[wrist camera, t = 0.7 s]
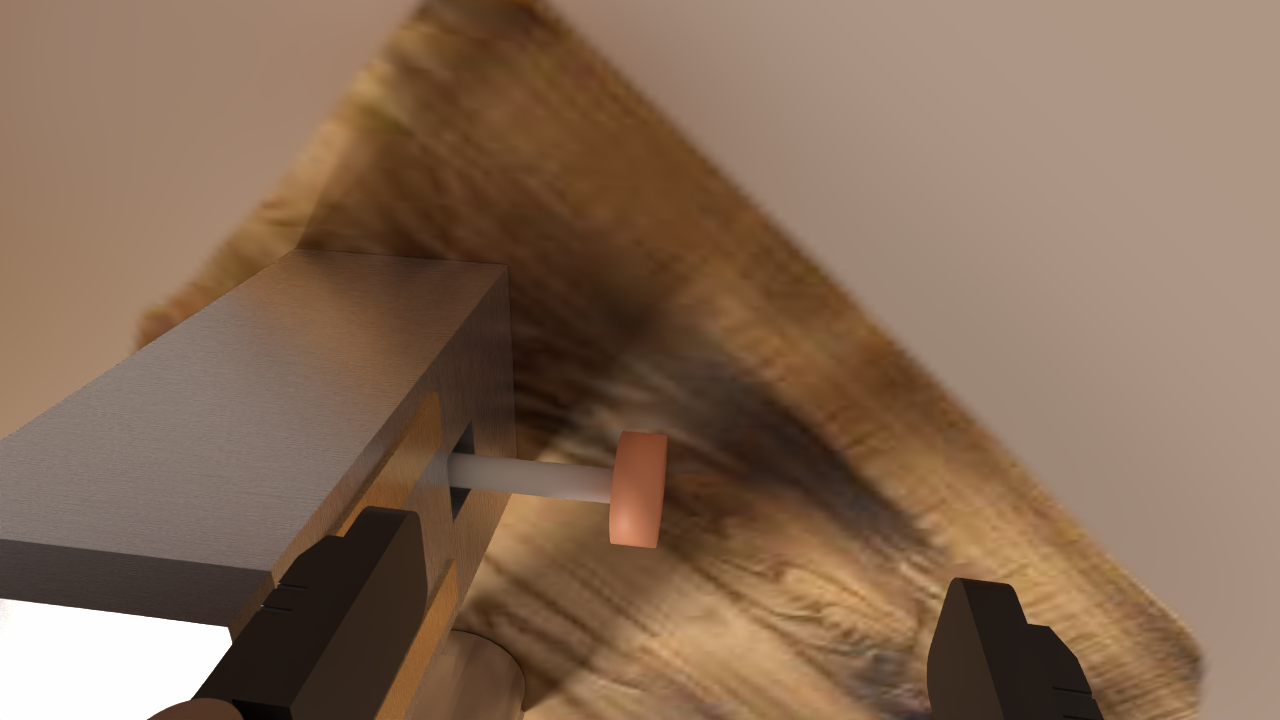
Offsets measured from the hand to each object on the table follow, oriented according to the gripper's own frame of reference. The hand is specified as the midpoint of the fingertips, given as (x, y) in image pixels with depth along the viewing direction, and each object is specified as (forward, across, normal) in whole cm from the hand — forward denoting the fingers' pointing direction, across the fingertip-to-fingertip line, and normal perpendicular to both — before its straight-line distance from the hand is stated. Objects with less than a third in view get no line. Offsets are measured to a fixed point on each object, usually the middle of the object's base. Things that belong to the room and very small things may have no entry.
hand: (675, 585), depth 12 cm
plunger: (+23, -9, -14) cm, 29 cm away
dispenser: (+29, -17, -14) cm, 37 cm away
